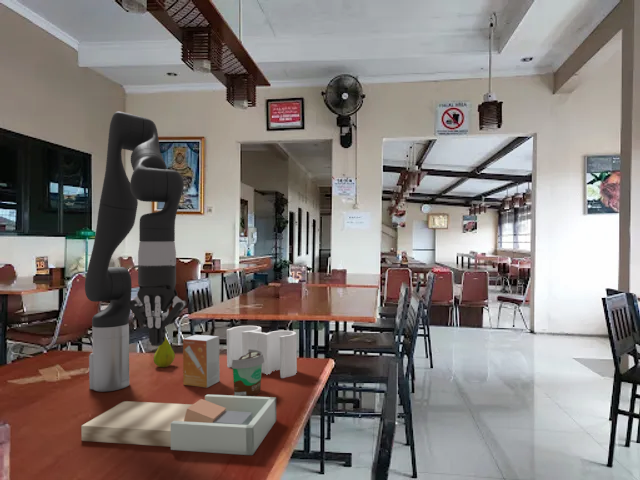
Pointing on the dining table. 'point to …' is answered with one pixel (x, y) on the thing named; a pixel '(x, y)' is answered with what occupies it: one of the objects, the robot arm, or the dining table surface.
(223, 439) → the tray
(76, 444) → the dining table surface
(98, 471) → the dining table surface
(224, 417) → the tile
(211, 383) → the small box
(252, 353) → the food container
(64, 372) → the dining table surface
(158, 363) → the fruit
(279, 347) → the bracket
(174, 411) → the beige slab
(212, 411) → the tile
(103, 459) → the dining table surface
